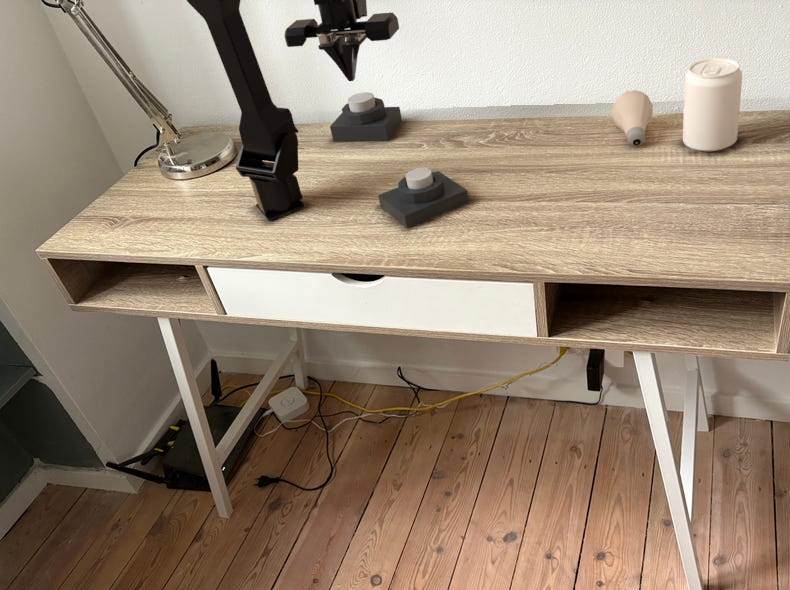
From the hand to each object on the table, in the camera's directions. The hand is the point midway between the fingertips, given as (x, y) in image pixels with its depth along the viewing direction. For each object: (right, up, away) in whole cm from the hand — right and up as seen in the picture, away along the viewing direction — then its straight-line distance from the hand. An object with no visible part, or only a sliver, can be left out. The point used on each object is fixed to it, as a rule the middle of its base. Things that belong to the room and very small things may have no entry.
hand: (351, 80), depth 142 cm
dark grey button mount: (+2, -6, +11) cm, 13 cm away
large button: (+1, -2, +8) cm, 9 cm away
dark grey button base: (+13, -24, -15) cm, 31 cm away
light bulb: (+47, -12, -7) cm, 49 cm away
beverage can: (+58, -15, -14) cm, 61 cm away
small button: (+12, -22, -17) cm, 30 cm away
